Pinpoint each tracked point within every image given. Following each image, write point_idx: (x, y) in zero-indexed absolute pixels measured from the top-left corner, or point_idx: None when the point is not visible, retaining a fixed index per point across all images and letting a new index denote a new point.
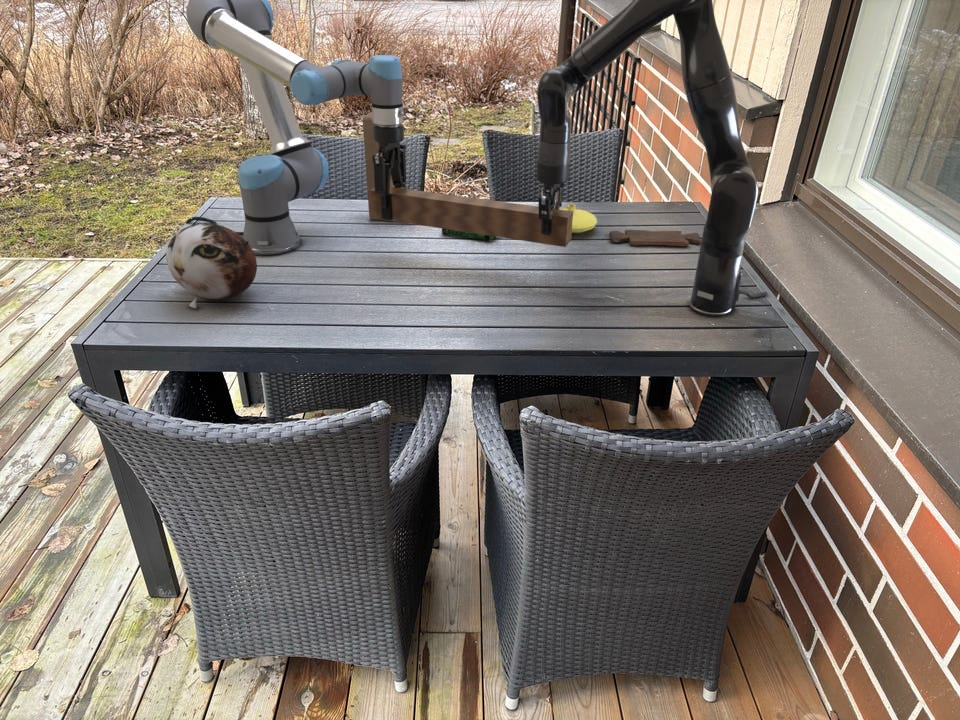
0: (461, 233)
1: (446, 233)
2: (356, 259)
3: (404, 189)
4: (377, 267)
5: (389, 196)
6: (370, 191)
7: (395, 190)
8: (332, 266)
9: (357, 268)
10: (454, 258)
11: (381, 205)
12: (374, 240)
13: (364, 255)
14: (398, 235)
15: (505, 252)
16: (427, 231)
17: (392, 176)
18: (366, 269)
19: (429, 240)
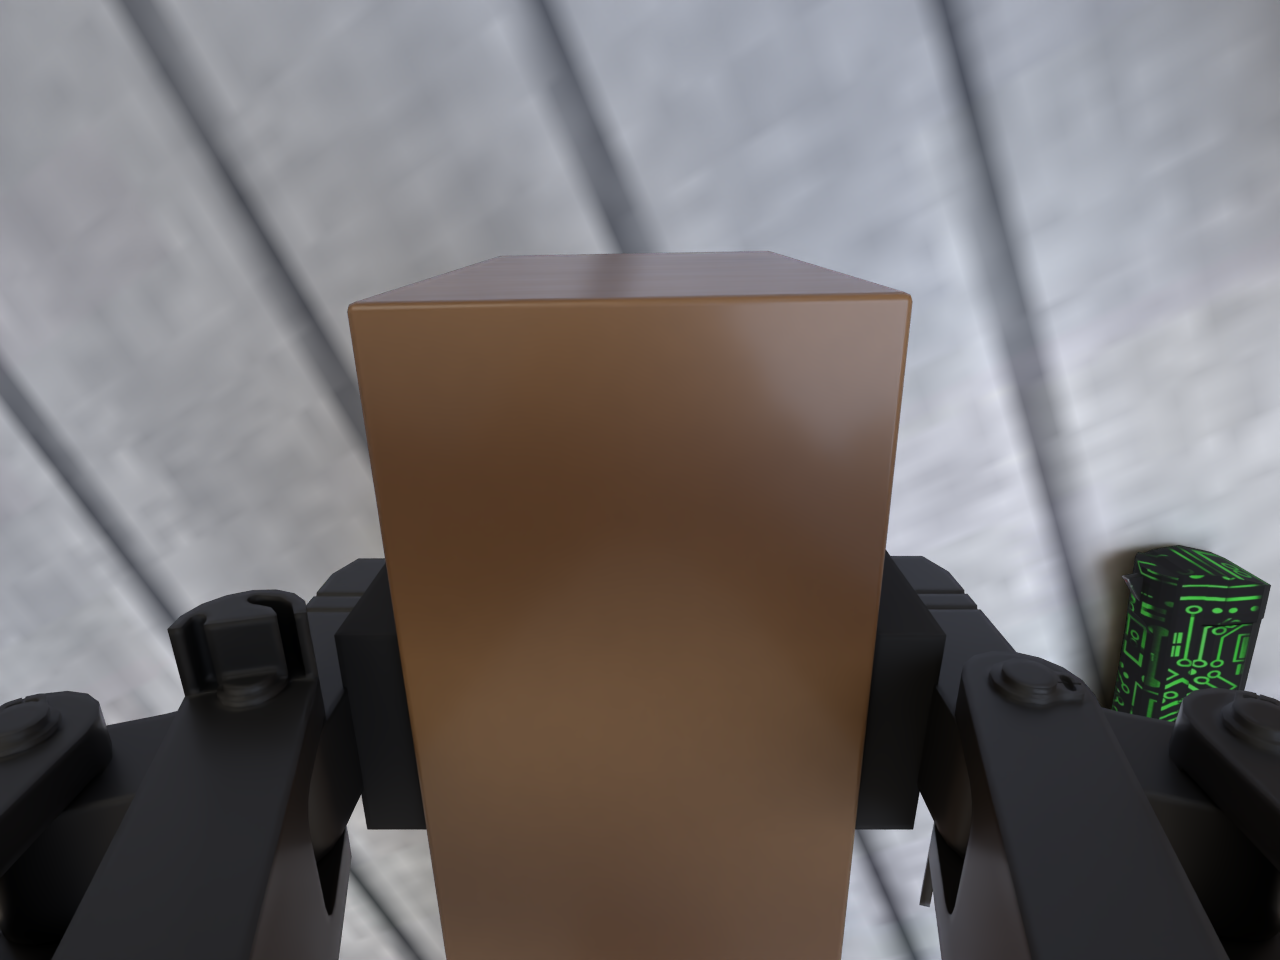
0: (1125, 705)
1: (1131, 593)
2: (402, 140)
3: (790, 939)
4: (357, 389)
5: (372, 802)
6: (359, 320)
7: (654, 832)
8: (160, 15)
9: (255, 254)
10: None
11: (329, 583)
12: (872, 49)
13: (511, 160)
14: (1057, 208)
15: (931, 953)
16: (1207, 401)
17: (1009, 920)
18: (280, 331)
19: (1006, 500)
